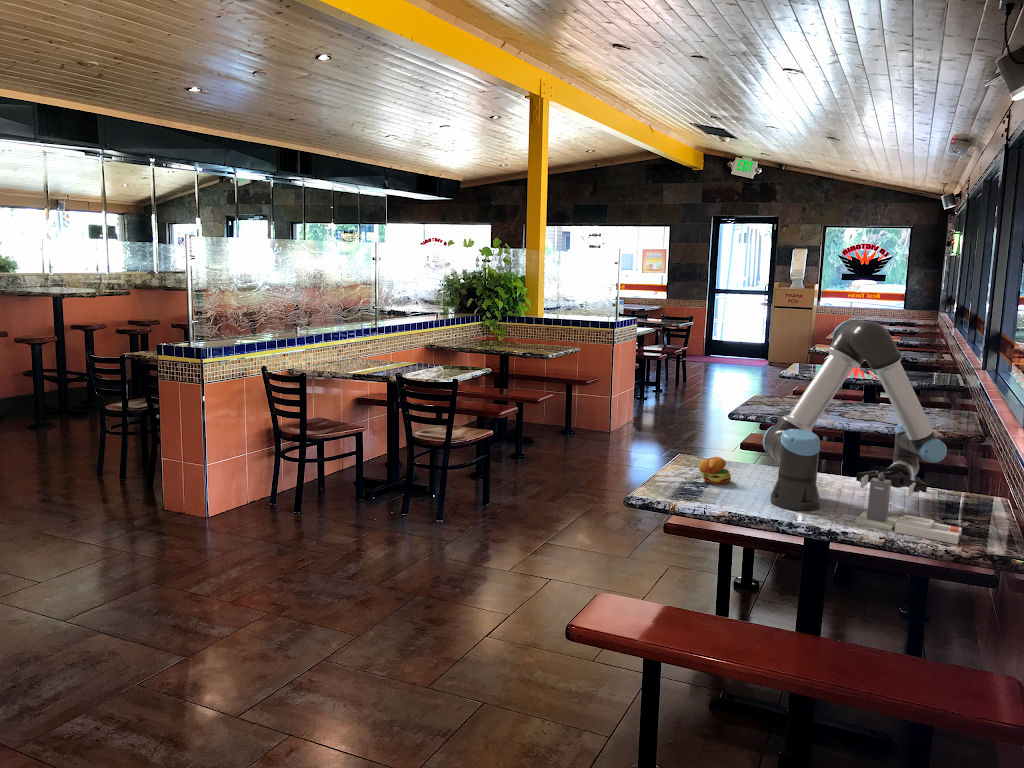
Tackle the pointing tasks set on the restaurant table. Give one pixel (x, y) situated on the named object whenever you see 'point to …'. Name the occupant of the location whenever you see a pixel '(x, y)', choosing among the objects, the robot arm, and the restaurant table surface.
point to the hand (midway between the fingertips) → (885, 487)
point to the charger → (879, 499)
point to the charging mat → (876, 522)
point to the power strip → (928, 529)
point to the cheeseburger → (715, 471)
